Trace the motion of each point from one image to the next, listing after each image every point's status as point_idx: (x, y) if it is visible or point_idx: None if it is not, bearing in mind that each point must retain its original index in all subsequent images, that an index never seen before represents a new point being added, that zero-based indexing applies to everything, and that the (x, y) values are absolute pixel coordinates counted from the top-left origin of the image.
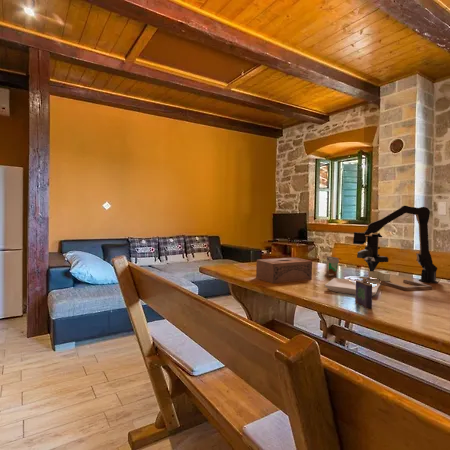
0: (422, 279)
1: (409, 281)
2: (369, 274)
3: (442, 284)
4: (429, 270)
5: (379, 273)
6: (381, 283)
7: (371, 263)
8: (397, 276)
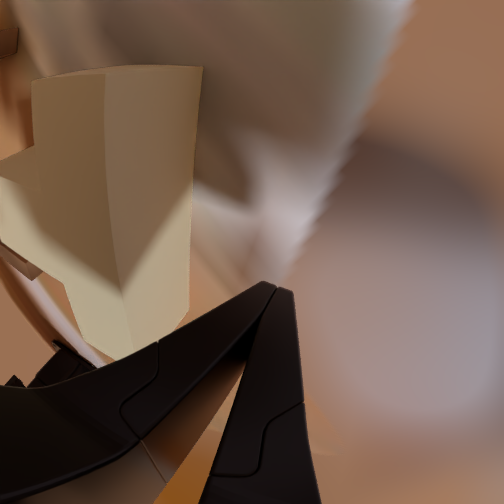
0: (67, 360)
1: (3, 243)
2: (138, 69)
3: (50, 348)
4: (13, 379)
5: (32, 177)
6: (9, 30)
7: (57, 410)
8: (219, 424)
